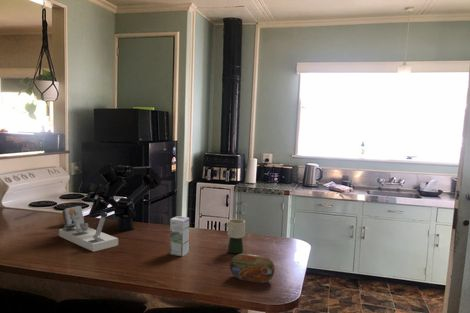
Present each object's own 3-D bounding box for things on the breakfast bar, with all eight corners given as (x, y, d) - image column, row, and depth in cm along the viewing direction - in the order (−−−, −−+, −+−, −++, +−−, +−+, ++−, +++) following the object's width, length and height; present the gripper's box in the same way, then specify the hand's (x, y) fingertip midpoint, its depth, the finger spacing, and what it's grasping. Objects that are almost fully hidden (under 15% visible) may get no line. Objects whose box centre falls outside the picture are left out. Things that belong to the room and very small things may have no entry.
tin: (229, 277, 118) (229, 253, 117) (232, 274, 121) (233, 250, 120) (272, 285, 112) (273, 260, 112) (275, 281, 115) (276, 256, 115)
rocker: (70, 226, 160) (70, 223, 160) (74, 227, 157) (74, 224, 157) (63, 227, 158) (63, 225, 158) (68, 228, 155) (67, 225, 155)
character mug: (233, 247, 149) (234, 217, 148) (248, 249, 146) (249, 219, 146) (221, 254, 139) (222, 222, 139) (238, 257, 136) (239, 225, 136)
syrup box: (189, 252, 141) (189, 217, 140) (182, 257, 136) (183, 220, 135) (176, 250, 143) (177, 215, 142) (169, 255, 137) (169, 218, 136)
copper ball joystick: (81, 230, 154) (71, 207, 150) (84, 231, 152) (75, 208, 148) (76, 233, 152) (66, 210, 148) (79, 234, 150) (69, 211, 146)
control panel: (82, 231, 166) (82, 224, 166) (118, 245, 147) (118, 237, 147) (59, 236, 158) (59, 229, 157) (93, 251, 139) (93, 243, 138)
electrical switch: (68, 227, 171) (67, 209, 171) (61, 227, 174) (60, 208, 174) (84, 223, 180) (83, 205, 179) (77, 223, 182) (76, 205, 182)
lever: (96, 239, 144) (105, 211, 147) (100, 240, 143) (109, 212, 145) (91, 238, 142) (100, 210, 145) (94, 239, 141) (104, 211, 143)
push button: (85, 226, 161) (85, 222, 161) (89, 228, 158) (89, 224, 158) (78, 228, 158) (78, 224, 158) (82, 230, 156) (82, 225, 155)
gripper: (90, 174, 164) (67, 201, 156) (112, 179, 152) (87, 208, 144) (106, 189, 170) (84, 215, 163) (128, 194, 158) (105, 223, 151)
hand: (89, 215), depth 155 cm, fingers closed
